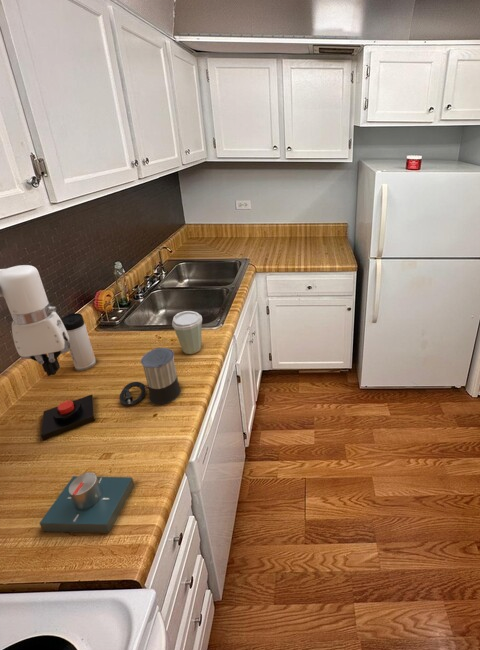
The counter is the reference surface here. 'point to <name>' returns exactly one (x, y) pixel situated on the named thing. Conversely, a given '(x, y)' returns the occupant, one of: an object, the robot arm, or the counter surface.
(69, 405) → the button
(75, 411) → the button box
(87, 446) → the counter surface
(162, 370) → the milk frother
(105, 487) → the dial panel
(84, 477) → the dial knob
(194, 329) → the disposable coffee cup
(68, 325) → the travel mug
